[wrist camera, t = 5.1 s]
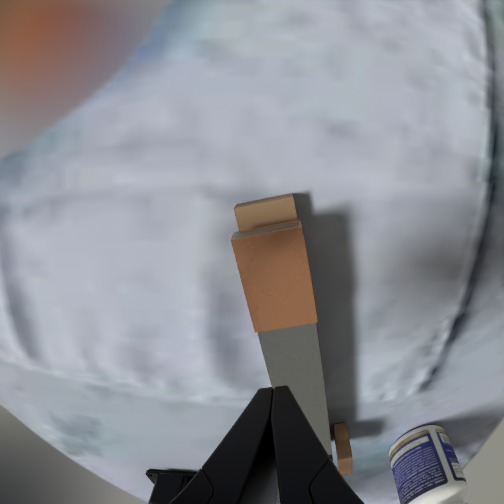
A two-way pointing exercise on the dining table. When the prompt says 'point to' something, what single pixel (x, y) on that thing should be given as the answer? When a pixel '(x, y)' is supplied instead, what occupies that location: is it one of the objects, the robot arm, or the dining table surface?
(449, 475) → the pill bottle
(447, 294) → the dining table surface
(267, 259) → the metal tong arm
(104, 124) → the dining table surface
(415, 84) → the dining table surface
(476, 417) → the dining table surface
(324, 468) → the robot arm
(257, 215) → the walnut tong base
